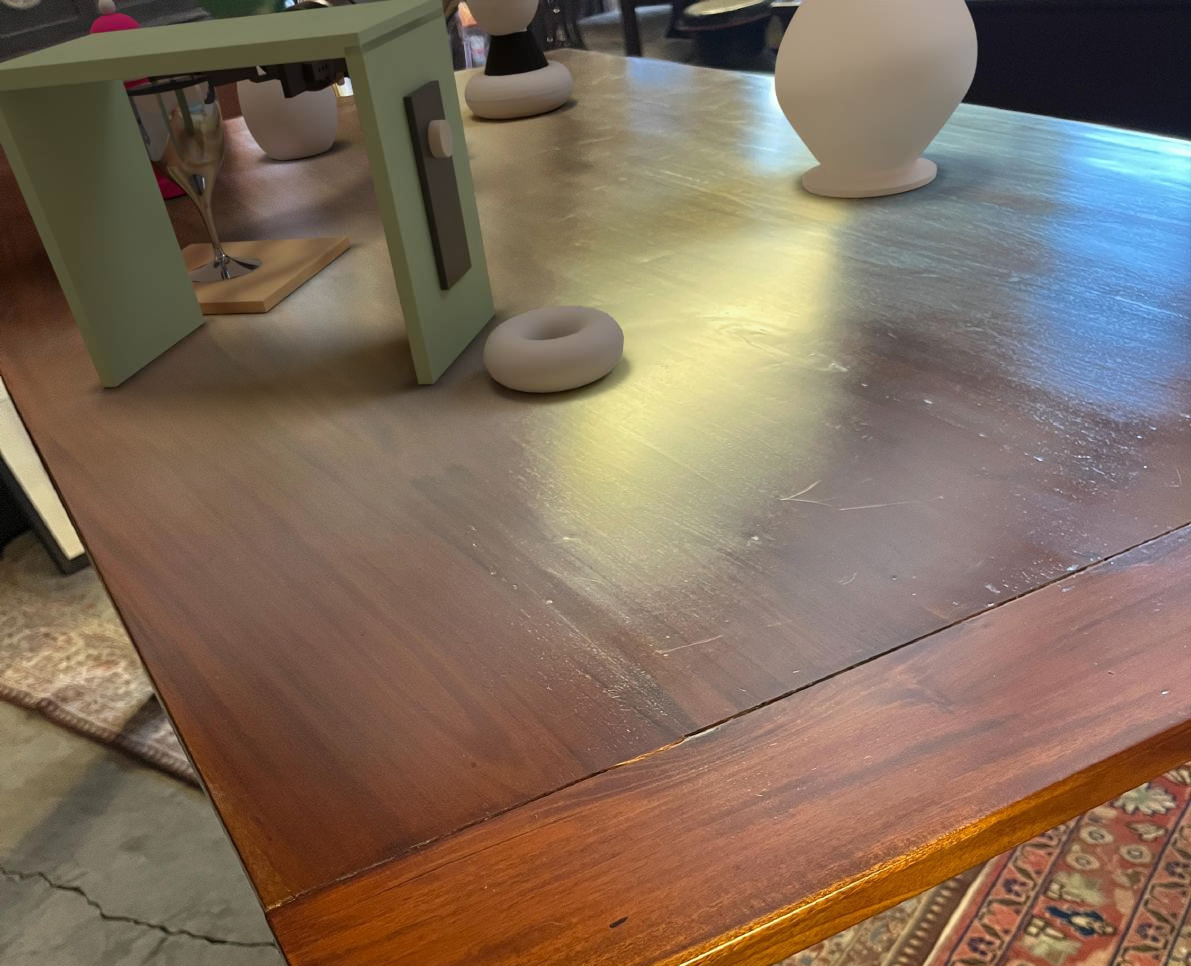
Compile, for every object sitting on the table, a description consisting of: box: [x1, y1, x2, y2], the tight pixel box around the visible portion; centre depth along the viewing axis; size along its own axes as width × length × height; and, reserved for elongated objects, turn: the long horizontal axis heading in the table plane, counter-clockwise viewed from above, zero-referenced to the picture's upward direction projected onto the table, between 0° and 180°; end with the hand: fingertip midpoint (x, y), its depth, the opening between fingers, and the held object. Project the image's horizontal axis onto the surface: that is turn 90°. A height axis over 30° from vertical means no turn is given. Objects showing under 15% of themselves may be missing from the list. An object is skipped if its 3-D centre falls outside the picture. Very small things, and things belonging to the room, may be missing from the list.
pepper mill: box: [89, 0, 186, 200], centre depth 130 cm, size 7×7×20 cm
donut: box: [482, 305, 625, 394], centre depth 77 cm, size 10×3×10 cm
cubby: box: [0, 0, 496, 388], centre depth 80 cm, size 30×14×21 cm, turn 75°
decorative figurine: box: [464, 0, 574, 120], centre depth 143 cm, size 15×15×20 cm
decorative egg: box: [236, 66, 339, 161], centre depth 141 cm, size 12×12×15 cm
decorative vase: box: [774, 0, 978, 199], centre depth 97 cm, size 18×18×25 cm
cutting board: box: [180, 236, 351, 315], centre depth 104 cm, size 18×18×1 cm
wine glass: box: [125, 75, 262, 283], centre depth 99 cm, size 8×8×15 cm
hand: (218, 86), depth 101 cm, fingers open, 13 cm apart
